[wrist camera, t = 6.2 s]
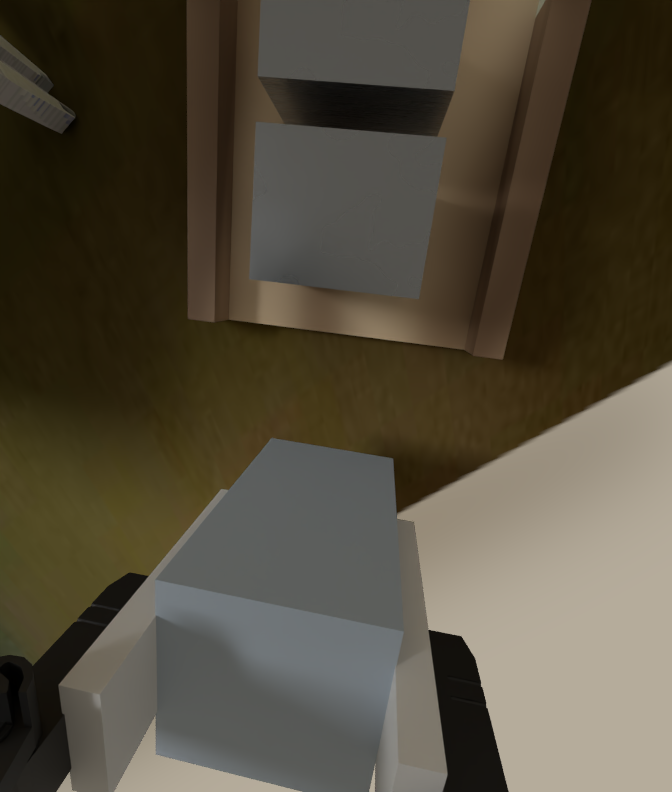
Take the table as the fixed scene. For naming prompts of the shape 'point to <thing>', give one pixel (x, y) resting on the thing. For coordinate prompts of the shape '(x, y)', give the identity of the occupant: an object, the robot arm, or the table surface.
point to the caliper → (29, 90)
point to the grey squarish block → (343, 207)
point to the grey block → (284, 623)
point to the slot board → (457, 191)
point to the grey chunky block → (362, 62)
